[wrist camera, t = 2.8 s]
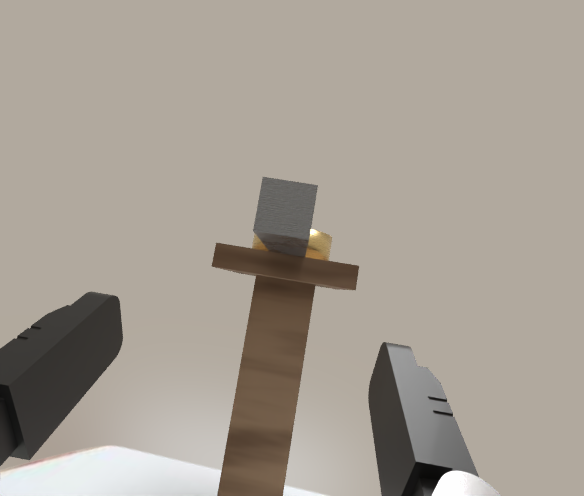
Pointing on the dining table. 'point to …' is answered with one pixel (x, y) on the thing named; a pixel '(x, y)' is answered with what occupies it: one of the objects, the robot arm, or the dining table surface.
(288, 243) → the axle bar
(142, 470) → the dining table surface
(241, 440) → the wooden stand
